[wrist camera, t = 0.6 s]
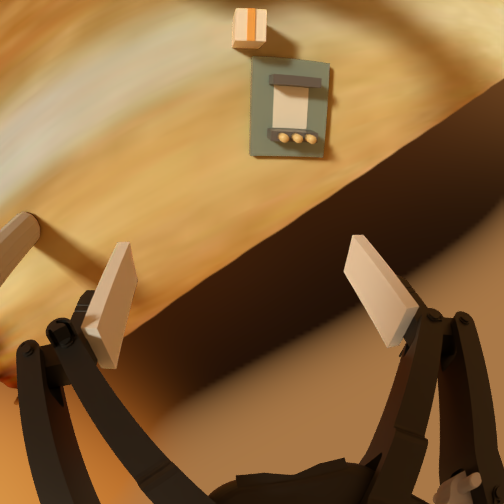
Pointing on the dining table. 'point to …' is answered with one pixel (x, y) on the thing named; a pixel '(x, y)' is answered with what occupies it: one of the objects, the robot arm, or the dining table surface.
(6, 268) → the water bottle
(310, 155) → the header board
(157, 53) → the dining table surface
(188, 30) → the dining table surface
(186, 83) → the dining table surface
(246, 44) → the plug
